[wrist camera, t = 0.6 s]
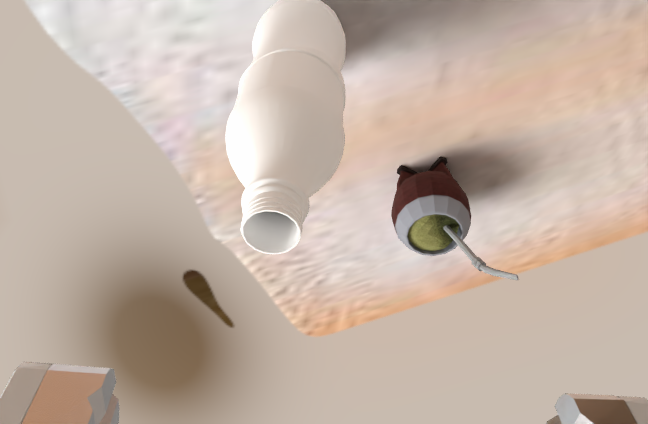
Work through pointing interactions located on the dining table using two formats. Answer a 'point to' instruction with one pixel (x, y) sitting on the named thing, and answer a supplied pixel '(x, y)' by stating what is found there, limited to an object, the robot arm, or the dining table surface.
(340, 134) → the water bottle
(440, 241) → the mate gourd
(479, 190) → the dining table surface
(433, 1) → the dining table surface
